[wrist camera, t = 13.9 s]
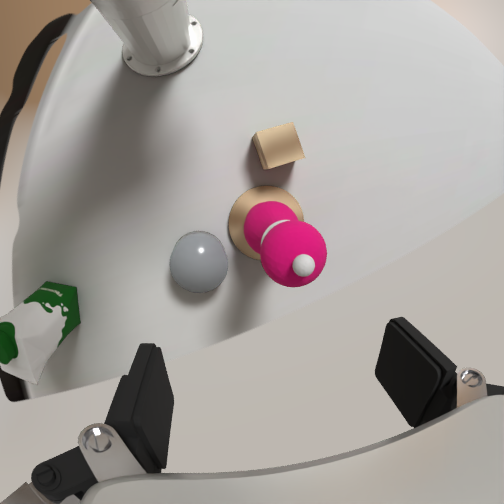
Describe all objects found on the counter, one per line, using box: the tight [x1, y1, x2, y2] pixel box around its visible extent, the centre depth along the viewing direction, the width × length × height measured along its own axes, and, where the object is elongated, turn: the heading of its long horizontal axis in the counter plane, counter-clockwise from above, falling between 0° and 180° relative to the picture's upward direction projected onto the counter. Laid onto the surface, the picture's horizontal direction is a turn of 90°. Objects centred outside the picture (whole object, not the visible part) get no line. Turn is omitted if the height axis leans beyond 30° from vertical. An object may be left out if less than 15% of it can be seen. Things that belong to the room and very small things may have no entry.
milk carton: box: [0, 281, 81, 385], centre depth 31 cm, size 9×9×20 cm
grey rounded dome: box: [170, 231, 228, 293], centre depth 39 cm, size 8×8×4 cm
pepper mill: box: [244, 201, 327, 287], centre depth 30 cm, size 7×7×20 cm
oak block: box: [252, 122, 305, 170], centre depth 36 cm, size 5×5×5 cm
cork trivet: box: [229, 186, 304, 260], centre depth 41 cm, size 11×11×1 cm
